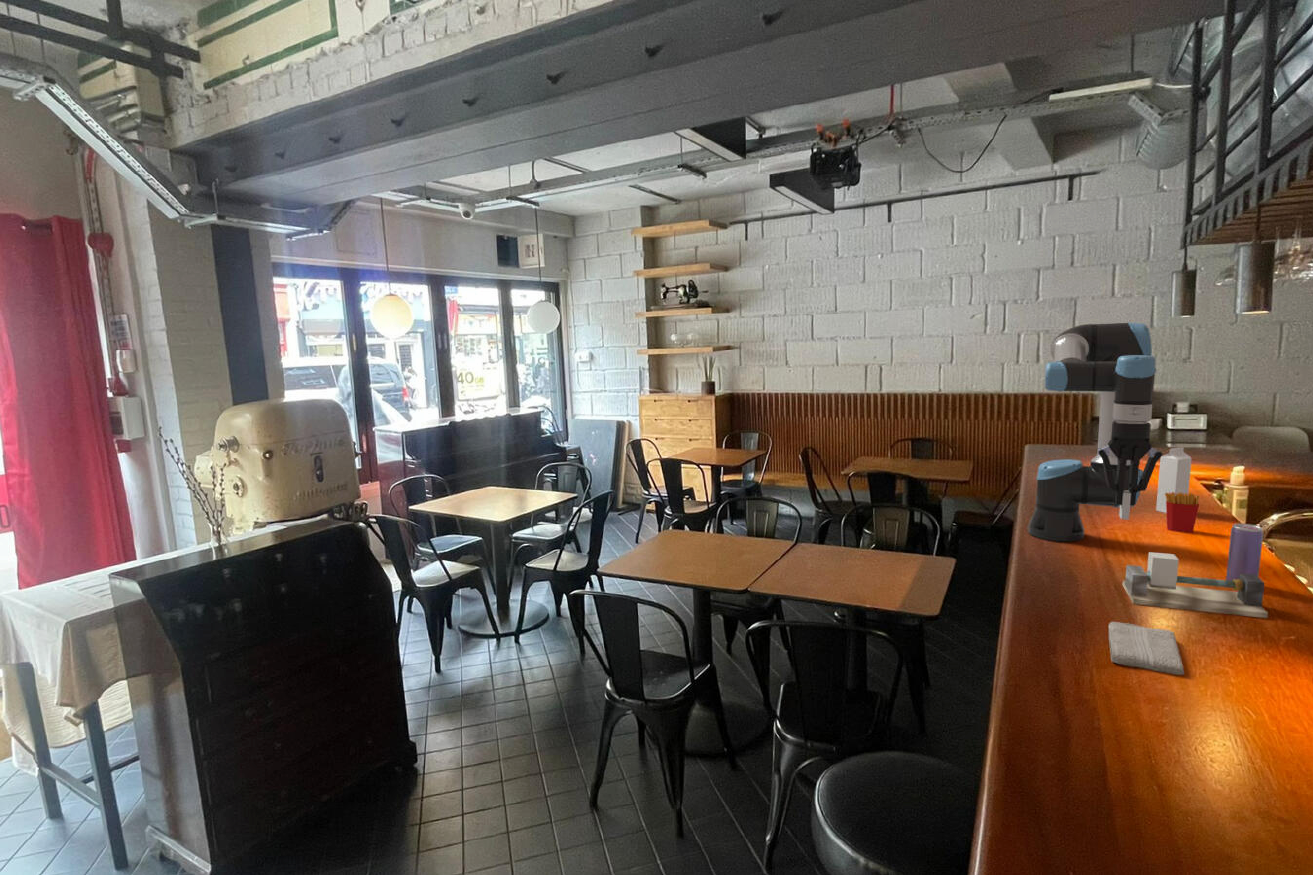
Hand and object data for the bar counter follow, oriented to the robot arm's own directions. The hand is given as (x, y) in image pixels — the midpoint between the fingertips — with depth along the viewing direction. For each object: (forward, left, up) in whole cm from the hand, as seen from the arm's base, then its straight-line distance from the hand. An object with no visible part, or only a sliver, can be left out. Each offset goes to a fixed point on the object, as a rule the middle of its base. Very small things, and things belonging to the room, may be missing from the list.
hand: (1124, 517), depth 165 cm
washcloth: (-1, -32, -20) cm, 37 cm away
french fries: (+27, +61, -20) cm, 69 cm away
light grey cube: (+9, 0, -16) cm, 18 cm away
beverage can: (+29, +15, -20) cm, 38 cm away
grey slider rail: (+15, 0, -19) cm, 24 cm away
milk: (+30, +83, -20) cm, 90 cm away
